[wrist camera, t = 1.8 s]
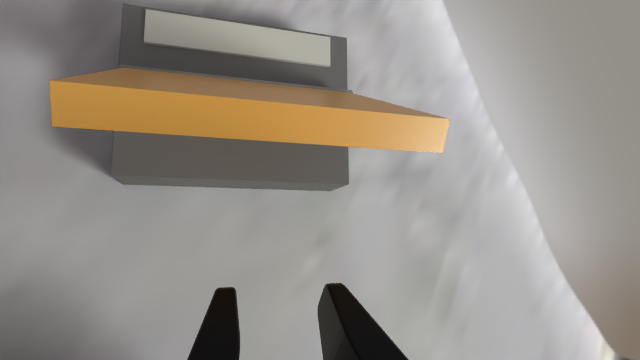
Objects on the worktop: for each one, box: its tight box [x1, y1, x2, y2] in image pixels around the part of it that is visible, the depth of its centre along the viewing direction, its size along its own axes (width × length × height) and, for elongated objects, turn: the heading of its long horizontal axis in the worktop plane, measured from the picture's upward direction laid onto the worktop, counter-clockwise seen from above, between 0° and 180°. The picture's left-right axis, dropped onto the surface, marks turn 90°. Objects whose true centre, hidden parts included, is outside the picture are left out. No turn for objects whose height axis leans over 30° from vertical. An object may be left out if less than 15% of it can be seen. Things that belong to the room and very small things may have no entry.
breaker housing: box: [111, 4, 349, 191], centre depth 21 cm, size 8×11×3 cm
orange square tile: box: [49, 64, 450, 153], centre depth 15 cm, size 1×10×10 cm, turn 90°
